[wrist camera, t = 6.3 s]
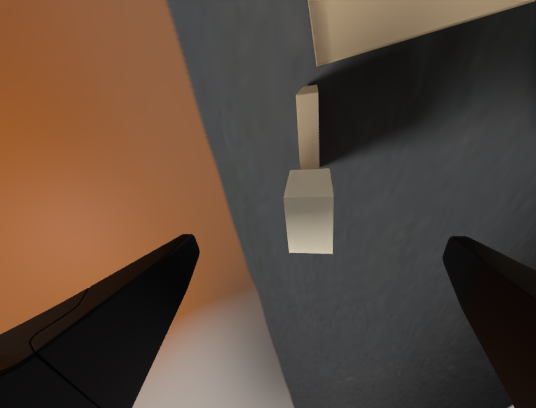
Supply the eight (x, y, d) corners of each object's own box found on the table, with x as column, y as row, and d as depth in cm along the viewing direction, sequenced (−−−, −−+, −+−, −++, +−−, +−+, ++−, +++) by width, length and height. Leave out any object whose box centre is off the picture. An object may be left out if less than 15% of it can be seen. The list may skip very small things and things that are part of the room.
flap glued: (324, 83, 16) (335, 99, 7) (324, 171, 19) (332, 253, 10) (295, 87, 16) (273, 106, 8) (300, 172, 19) (289, 252, 11)
